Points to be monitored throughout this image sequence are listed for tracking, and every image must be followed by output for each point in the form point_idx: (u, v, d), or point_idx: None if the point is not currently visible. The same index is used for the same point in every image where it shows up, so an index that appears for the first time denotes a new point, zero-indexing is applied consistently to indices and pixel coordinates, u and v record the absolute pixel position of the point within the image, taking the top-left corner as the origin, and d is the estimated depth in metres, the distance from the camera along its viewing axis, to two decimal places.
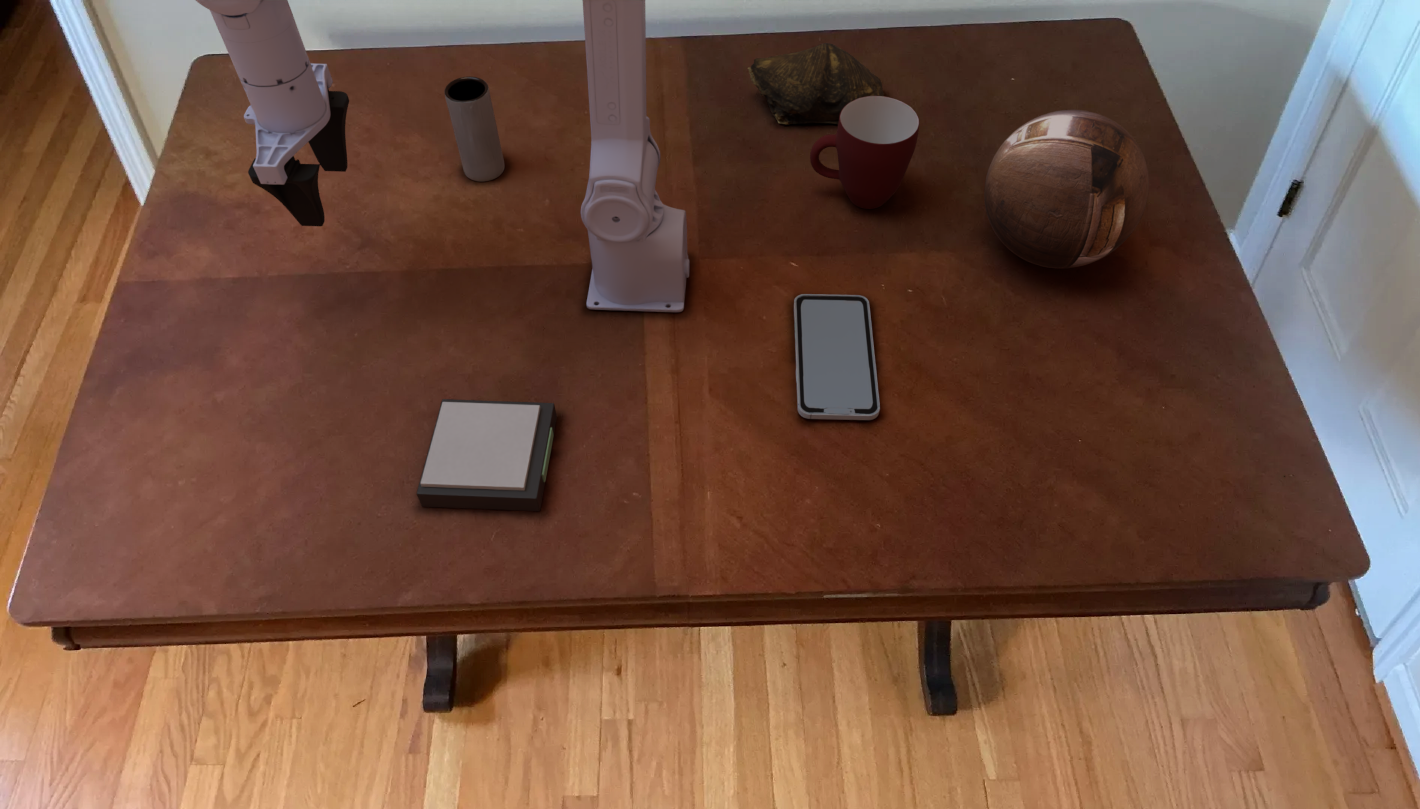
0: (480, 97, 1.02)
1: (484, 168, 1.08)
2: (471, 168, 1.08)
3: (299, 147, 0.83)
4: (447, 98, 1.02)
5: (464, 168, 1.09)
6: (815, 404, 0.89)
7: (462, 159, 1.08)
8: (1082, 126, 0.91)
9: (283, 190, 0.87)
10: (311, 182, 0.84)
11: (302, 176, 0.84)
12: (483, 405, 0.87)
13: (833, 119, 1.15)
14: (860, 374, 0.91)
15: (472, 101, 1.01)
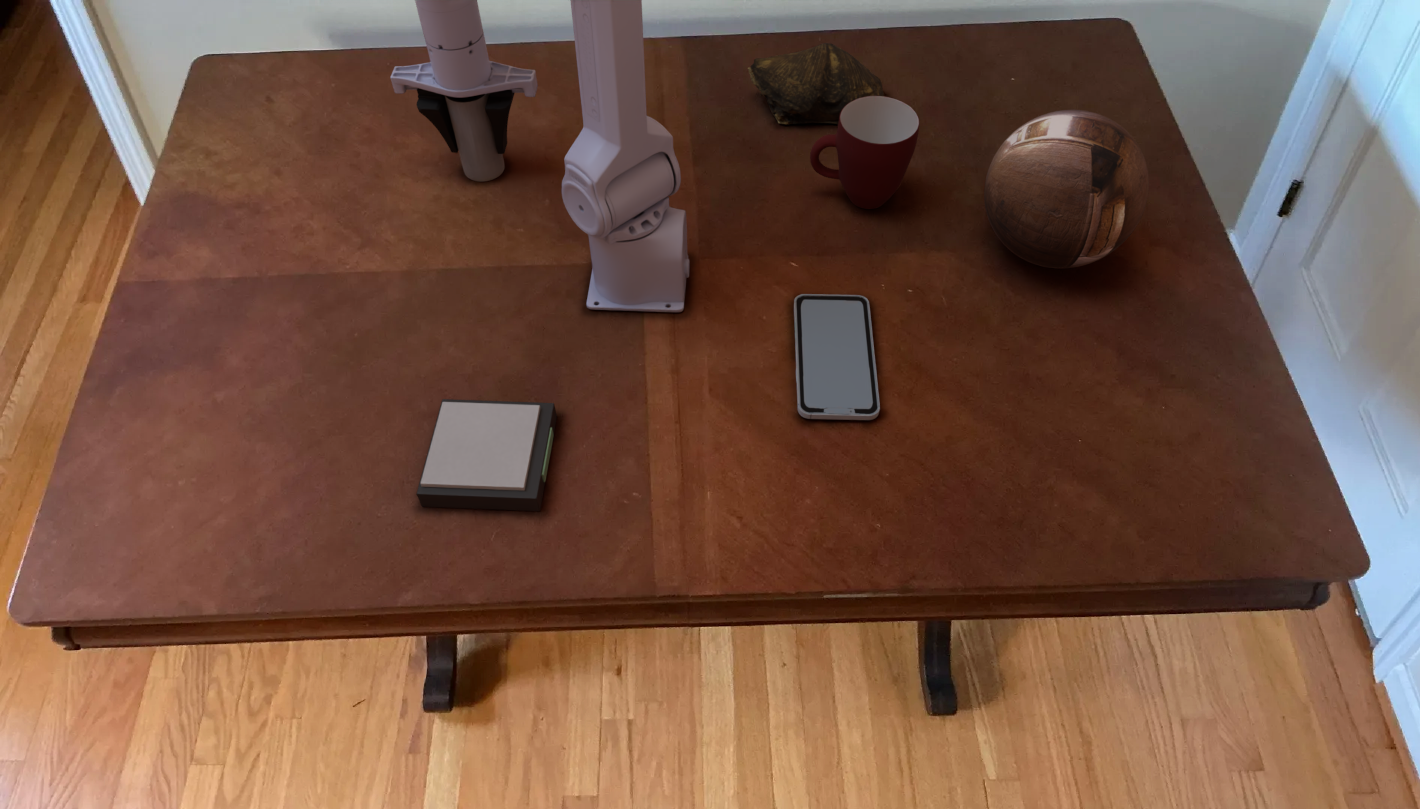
0: (480, 97, 1.02)
1: (484, 168, 1.08)
2: (471, 168, 1.08)
3: (420, 87, 1.01)
4: (447, 98, 1.02)
5: (464, 168, 1.09)
6: (815, 404, 0.89)
7: (462, 159, 1.08)
8: (1082, 126, 0.91)
9: None
10: (419, 110, 1.02)
11: (421, 103, 1.02)
12: (483, 405, 0.87)
13: (833, 119, 1.15)
14: (860, 374, 0.91)
15: (472, 101, 1.01)
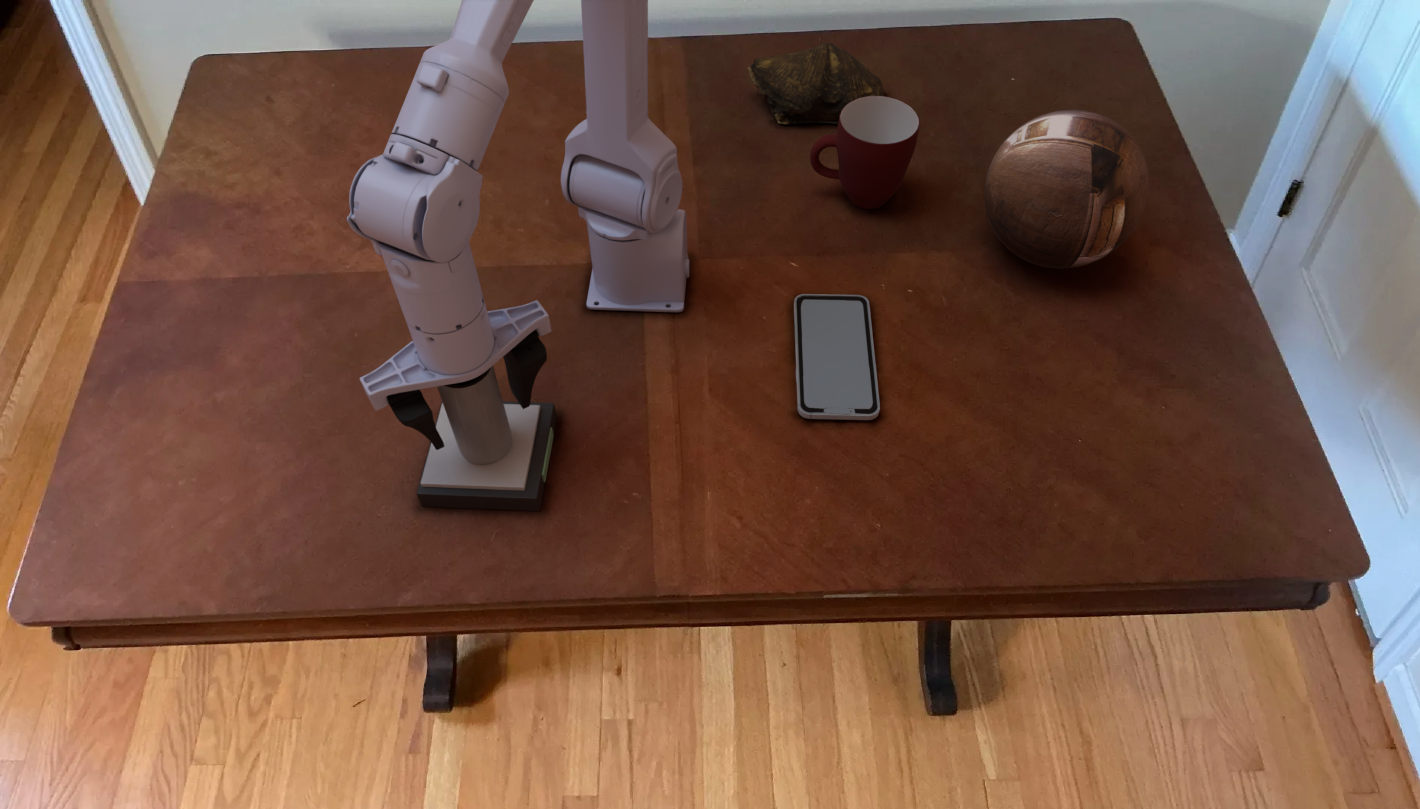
0: (490, 367, 0.76)
1: (501, 444, 0.82)
2: (485, 452, 0.82)
3: (415, 388, 0.73)
4: (450, 388, 0.75)
5: (471, 456, 0.82)
6: (815, 404, 0.89)
7: (469, 447, 0.81)
8: (1082, 126, 0.91)
9: None
10: (405, 424, 0.74)
11: (402, 414, 0.74)
12: None
13: (833, 119, 1.15)
14: (860, 374, 0.91)
15: (485, 377, 0.76)
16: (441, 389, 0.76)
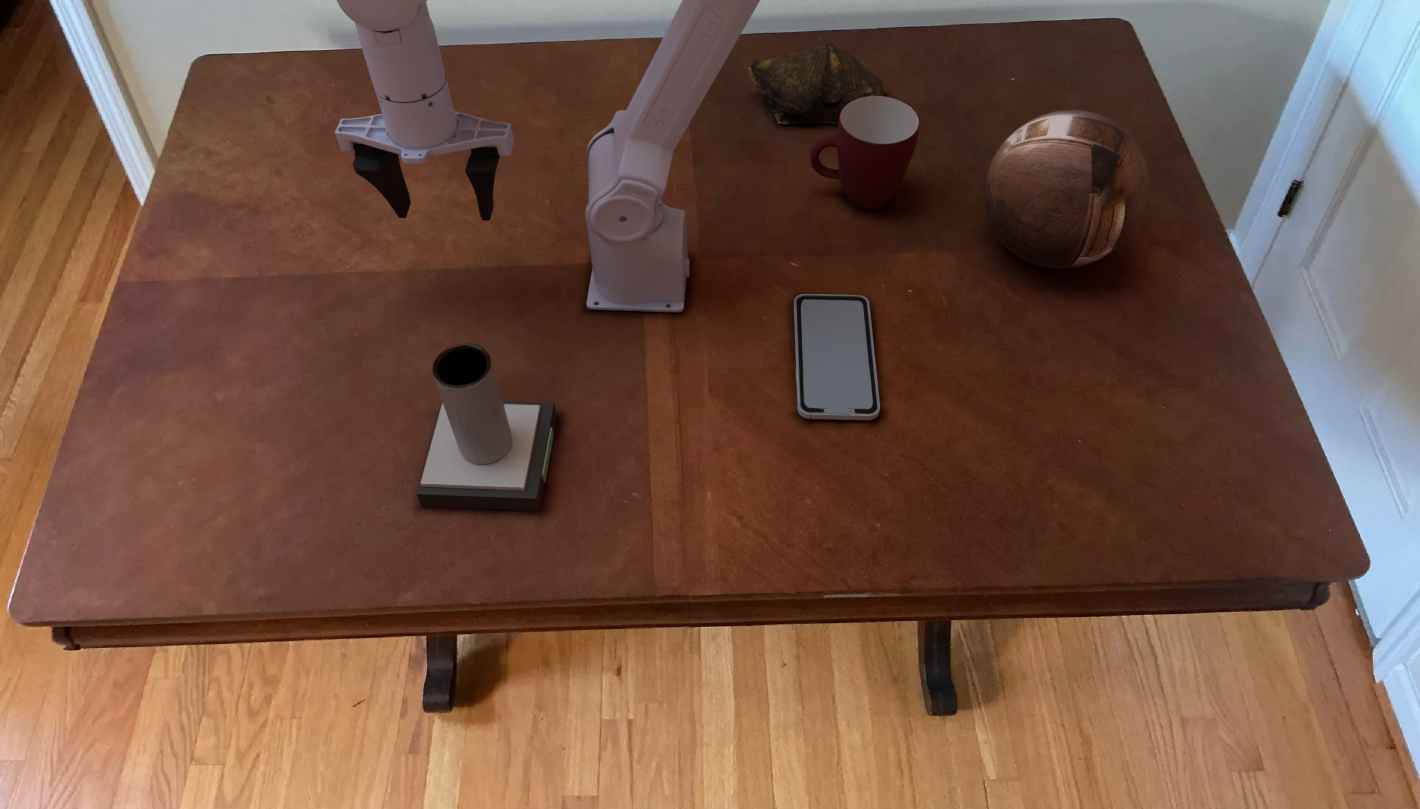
0: (489, 367, 0.76)
1: (501, 444, 0.82)
2: (485, 452, 0.82)
3: None
4: (449, 388, 0.75)
5: (471, 456, 0.82)
6: (815, 404, 0.89)
7: (469, 447, 0.81)
8: (1082, 126, 0.91)
9: None
10: None
11: None
12: None
13: (833, 119, 1.15)
14: (860, 374, 0.91)
15: (485, 376, 0.76)
16: (441, 389, 0.76)
